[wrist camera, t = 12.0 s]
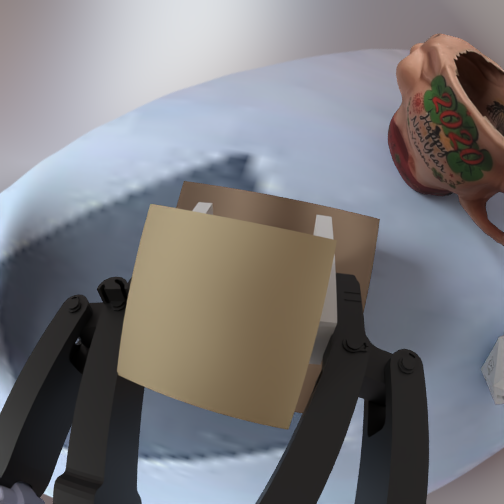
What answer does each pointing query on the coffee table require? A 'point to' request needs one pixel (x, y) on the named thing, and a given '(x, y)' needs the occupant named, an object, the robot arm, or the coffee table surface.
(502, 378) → the die
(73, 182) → the coffee table surface
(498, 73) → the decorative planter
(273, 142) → the coffee table surface
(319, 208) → the wooden t-shaped block
